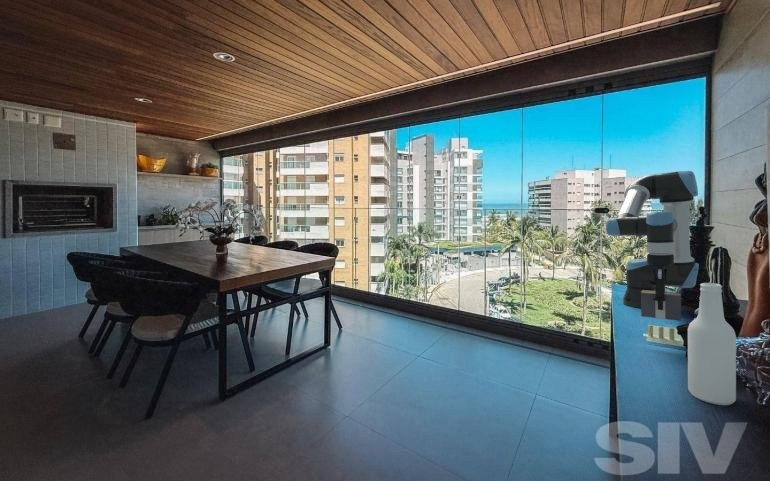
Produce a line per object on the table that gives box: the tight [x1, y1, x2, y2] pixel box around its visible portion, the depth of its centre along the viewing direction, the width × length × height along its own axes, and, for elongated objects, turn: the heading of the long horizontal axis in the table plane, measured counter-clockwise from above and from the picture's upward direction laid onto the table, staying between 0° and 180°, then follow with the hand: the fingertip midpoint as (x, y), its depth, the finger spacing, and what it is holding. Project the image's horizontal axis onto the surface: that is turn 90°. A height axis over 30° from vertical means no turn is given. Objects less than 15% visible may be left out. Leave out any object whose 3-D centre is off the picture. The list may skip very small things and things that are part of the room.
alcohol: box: [687, 282, 737, 406], centre depth 83 cm, size 9×9×30 cm
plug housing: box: [640, 290, 682, 322], centre depth 119 cm, size 5×11×9 cm, turn 48°
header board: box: [642, 324, 685, 350], centre depth 122 cm, size 20×13×5 cm, turn 138°
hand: (660, 315), depth 119 cm, fingers closed on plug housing, 5 cm apart
